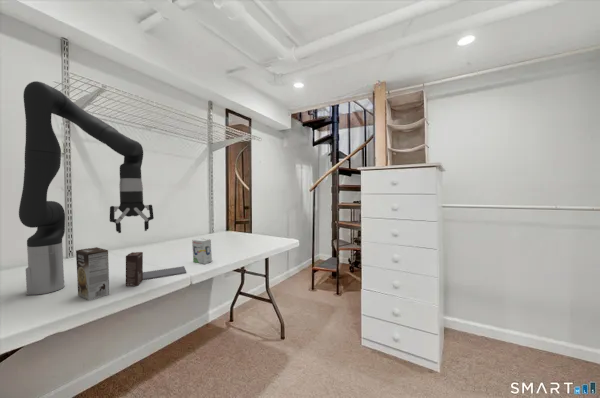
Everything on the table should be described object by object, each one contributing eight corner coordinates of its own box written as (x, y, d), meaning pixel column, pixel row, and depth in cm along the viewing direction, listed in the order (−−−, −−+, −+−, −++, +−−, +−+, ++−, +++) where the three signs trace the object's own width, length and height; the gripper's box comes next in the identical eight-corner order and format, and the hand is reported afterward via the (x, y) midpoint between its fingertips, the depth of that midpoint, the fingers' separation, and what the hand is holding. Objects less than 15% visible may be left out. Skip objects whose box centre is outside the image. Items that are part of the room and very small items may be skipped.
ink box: (212, 261, 130) (211, 239, 129) (204, 264, 125) (203, 240, 125) (200, 259, 134) (199, 237, 133) (192, 262, 129) (191, 239, 129)
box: (138, 285, 97) (137, 255, 97) (125, 287, 96) (124, 255, 96) (144, 280, 103) (143, 251, 103) (131, 281, 102) (130, 252, 102)
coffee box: (76, 295, 89) (75, 250, 88) (98, 289, 95) (97, 246, 94) (88, 301, 84) (86, 253, 84) (110, 294, 90) (108, 249, 89)
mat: (141, 280, 103) (141, 279, 103) (142, 273, 112) (142, 272, 112) (186, 273, 112) (186, 271, 112) (184, 267, 121) (184, 266, 121)
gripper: (107, 190, 92) (109, 235, 92) (152, 190, 99) (154, 231, 99) (110, 190, 98) (112, 232, 99) (152, 190, 105) (154, 228, 106)
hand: (133, 231), depth 99 cm, fingers open, 8 cm apart
